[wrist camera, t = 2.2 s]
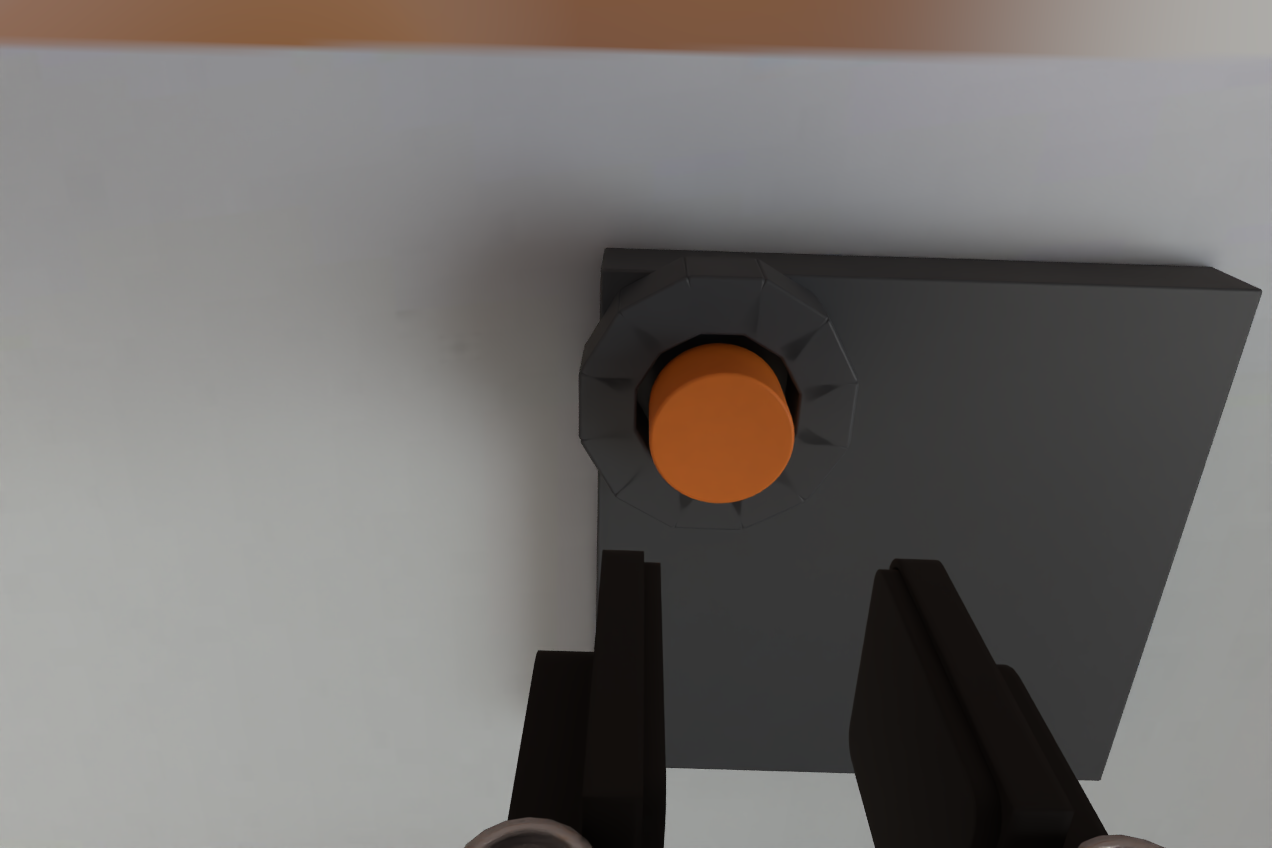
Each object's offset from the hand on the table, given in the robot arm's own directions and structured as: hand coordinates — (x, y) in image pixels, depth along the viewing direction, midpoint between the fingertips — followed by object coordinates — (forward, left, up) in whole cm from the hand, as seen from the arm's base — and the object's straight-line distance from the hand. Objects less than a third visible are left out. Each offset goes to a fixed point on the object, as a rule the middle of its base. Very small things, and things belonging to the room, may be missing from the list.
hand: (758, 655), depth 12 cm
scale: (+4, +4, -11) cm, 13 cm away
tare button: (0, 0, -8) cm, 8 cm away
